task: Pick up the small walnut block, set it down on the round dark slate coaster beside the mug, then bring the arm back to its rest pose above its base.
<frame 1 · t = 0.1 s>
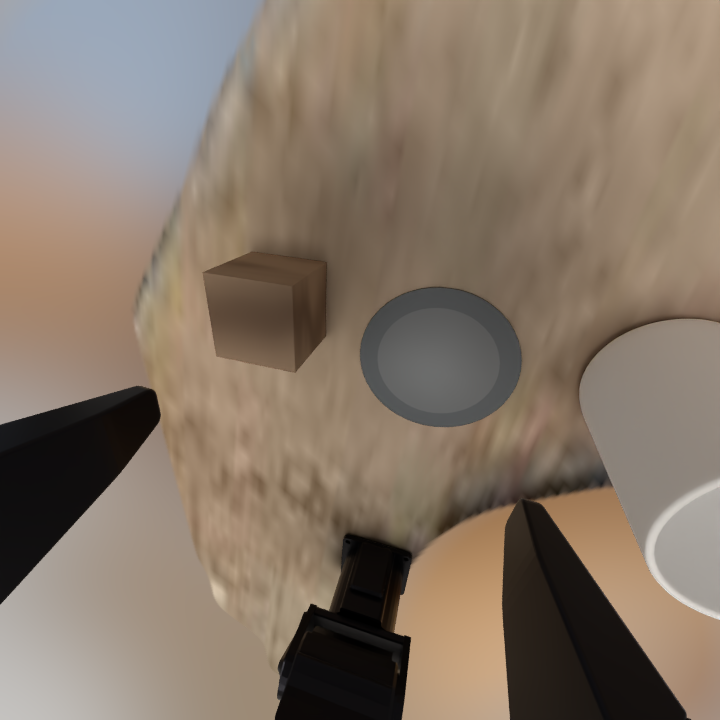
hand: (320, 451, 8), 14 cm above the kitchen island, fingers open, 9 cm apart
slate coaster: (435, 363, 23), on the kitchen island
mug: (692, 359, 19), on the kitchen island
walnut block: (290, 294, 23), on the kitchen island
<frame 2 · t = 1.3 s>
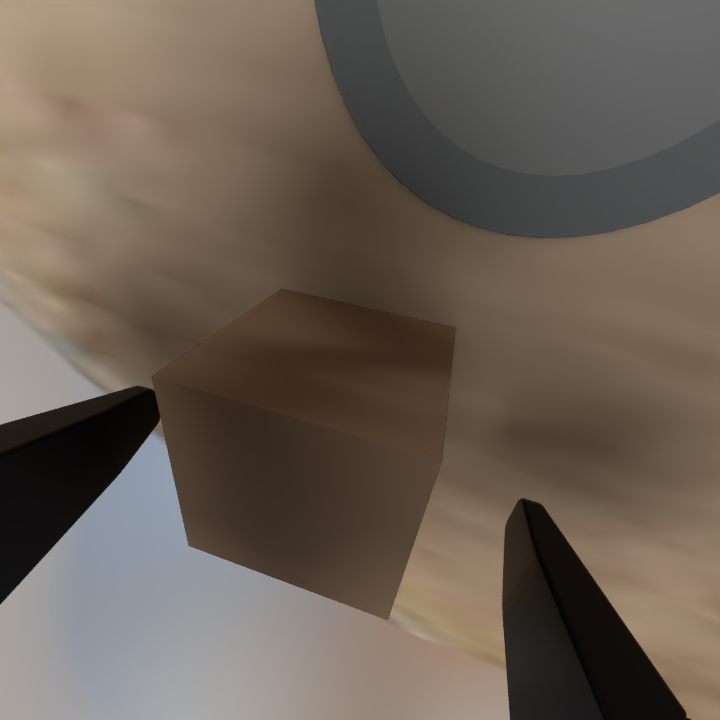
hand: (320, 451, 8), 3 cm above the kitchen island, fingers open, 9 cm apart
walnut block: (355, 380, 11), on the kitchen island
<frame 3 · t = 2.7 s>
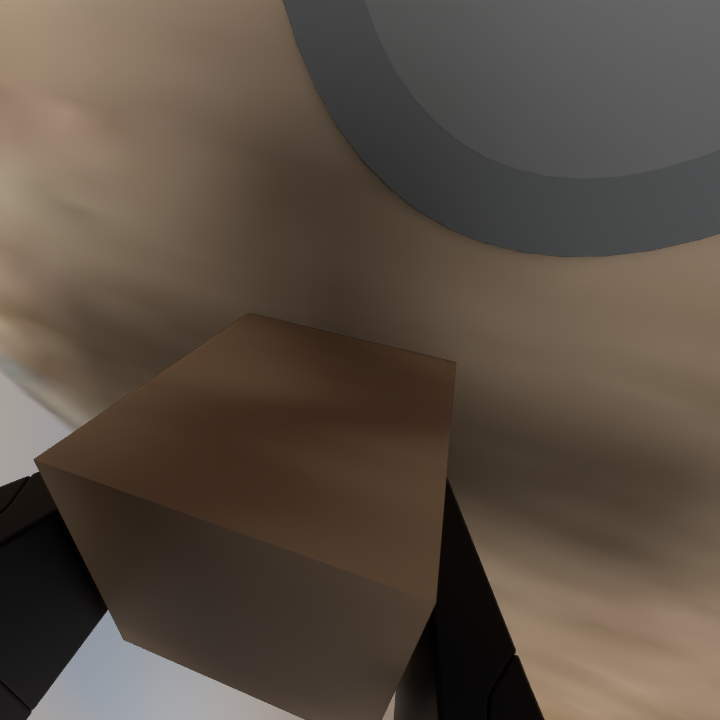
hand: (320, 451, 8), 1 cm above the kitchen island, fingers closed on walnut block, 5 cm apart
walnut block: (337, 419, 9), on the kitchen island, touching gripper
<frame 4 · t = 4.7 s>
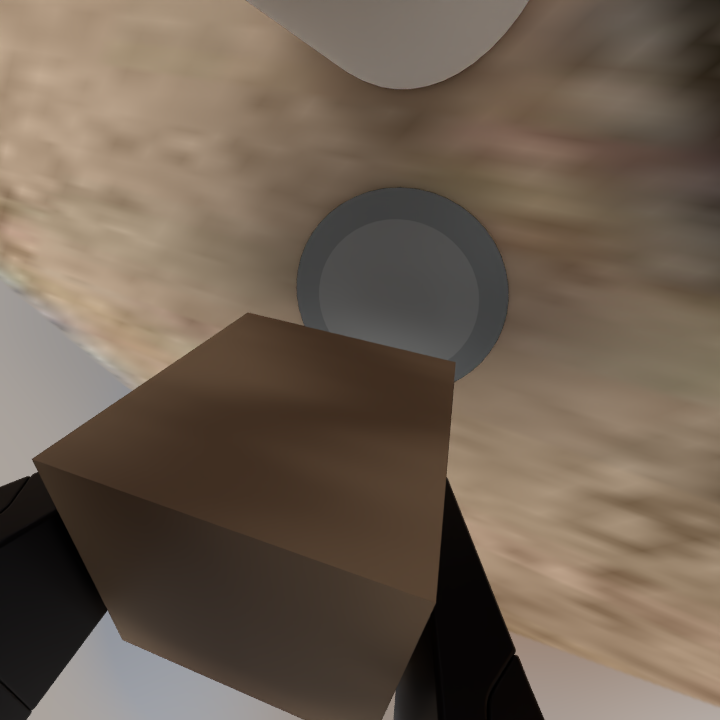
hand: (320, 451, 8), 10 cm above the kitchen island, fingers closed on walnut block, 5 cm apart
slate coaster: (394, 303, 17), on the kitchen island
walnut block: (336, 419, 9), point 9 cm above the kitchen island, touching gripper
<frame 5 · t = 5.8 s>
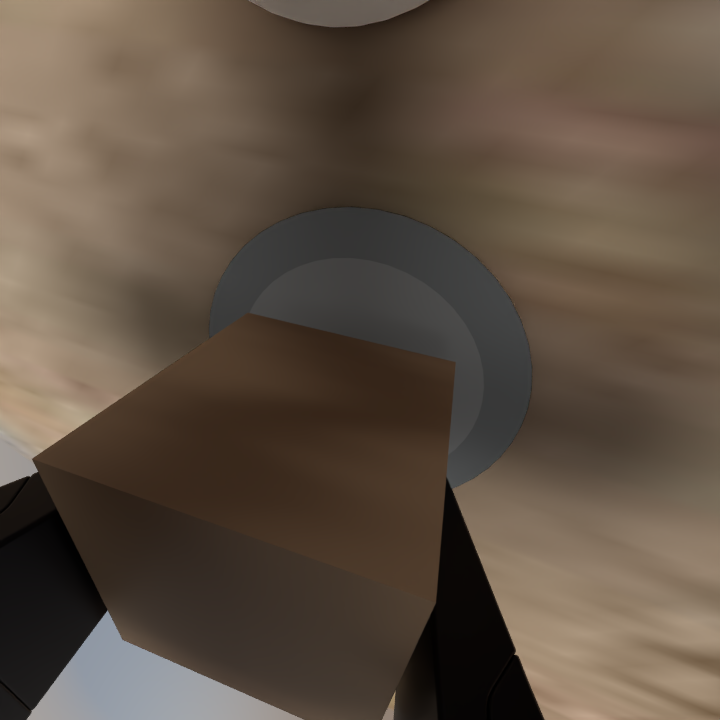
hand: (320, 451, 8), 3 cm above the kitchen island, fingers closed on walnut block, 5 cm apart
slate coaster: (354, 381, 11), on the kitchen island
walnut block: (336, 419, 9), point 2 cm above the kitchen island, touching gripper
when the fingers open (2 cm above the kitchen island, at t = 6.8 s): walnut block drops 1 cm, resting on slate coaster.
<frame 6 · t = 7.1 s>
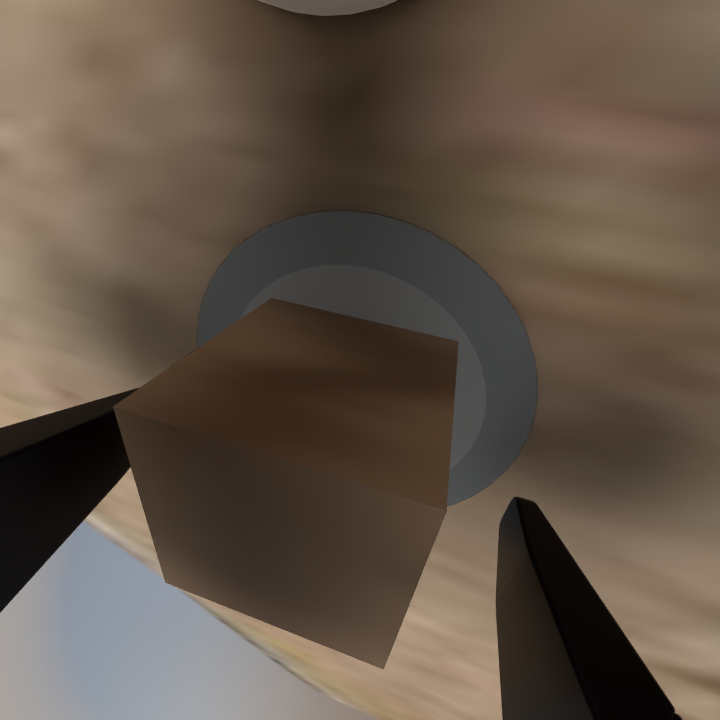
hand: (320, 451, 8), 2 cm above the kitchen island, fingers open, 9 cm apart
slate coaster: (349, 393, 10), on the kitchen island
walnut block: (350, 396, 10), resting on slate coaster
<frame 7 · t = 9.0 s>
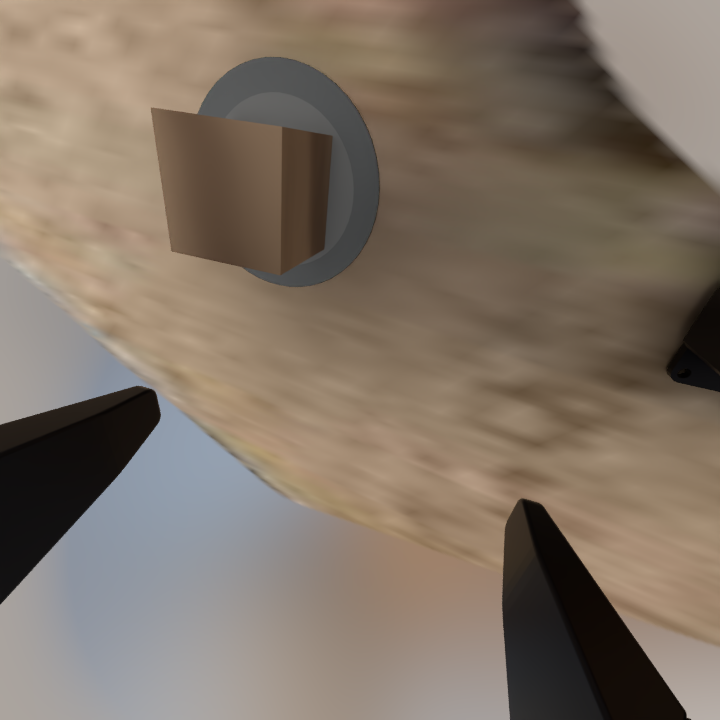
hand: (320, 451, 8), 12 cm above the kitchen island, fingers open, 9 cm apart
slate coaster: (280, 187, 18), on the kitchen island
walnut block: (280, 188, 18), resting on slate coaster
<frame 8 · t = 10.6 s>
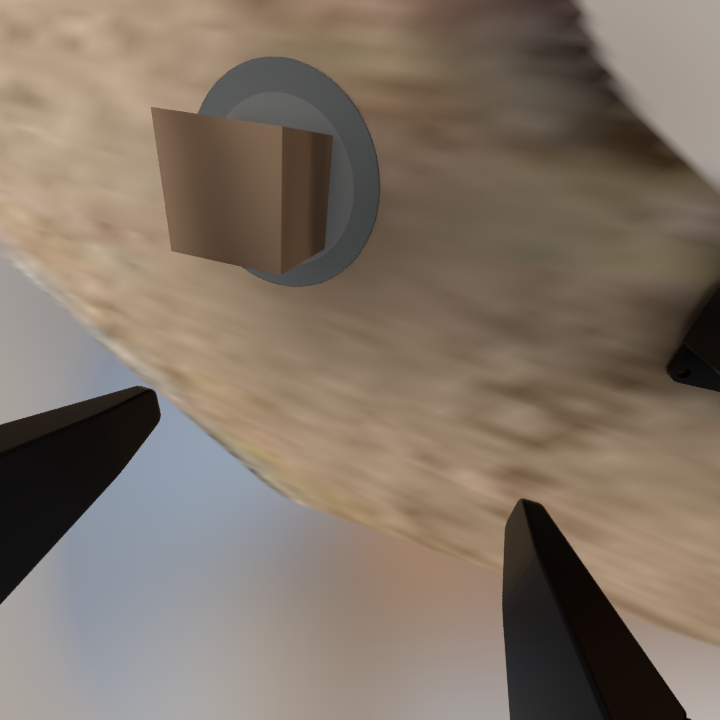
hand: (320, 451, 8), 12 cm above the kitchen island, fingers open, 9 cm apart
slate coaster: (280, 187, 18), on the kitchen island
walnut block: (280, 188, 18), resting on slate coaster
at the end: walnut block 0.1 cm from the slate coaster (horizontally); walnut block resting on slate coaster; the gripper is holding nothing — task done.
